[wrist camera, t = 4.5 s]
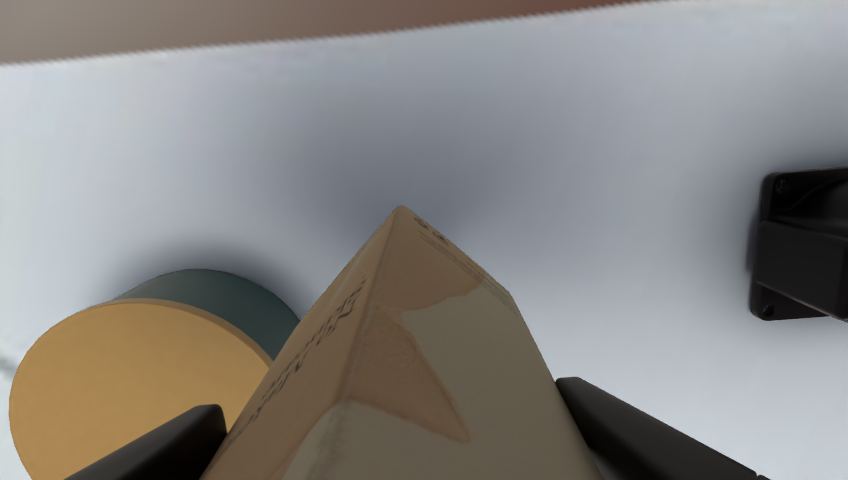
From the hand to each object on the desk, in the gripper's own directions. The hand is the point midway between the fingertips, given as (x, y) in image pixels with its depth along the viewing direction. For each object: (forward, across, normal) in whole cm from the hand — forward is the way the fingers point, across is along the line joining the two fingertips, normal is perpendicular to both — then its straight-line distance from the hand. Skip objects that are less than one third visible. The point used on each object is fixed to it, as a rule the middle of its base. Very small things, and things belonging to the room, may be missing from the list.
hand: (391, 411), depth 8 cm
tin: (+11, +10, +5) cm, 16 cm away
